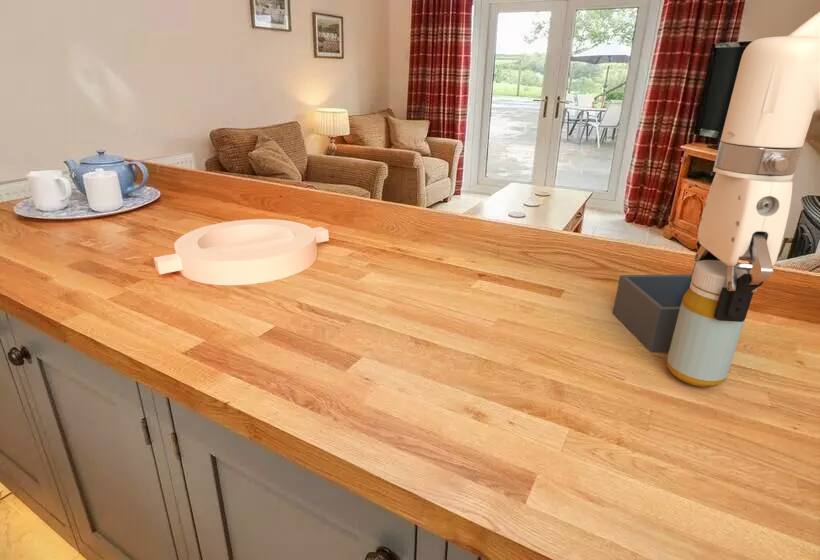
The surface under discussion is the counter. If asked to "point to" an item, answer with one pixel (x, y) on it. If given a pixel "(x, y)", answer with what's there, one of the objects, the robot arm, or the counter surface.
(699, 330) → the bottle
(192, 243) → the peach handled dish
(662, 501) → the counter surface
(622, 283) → the box
